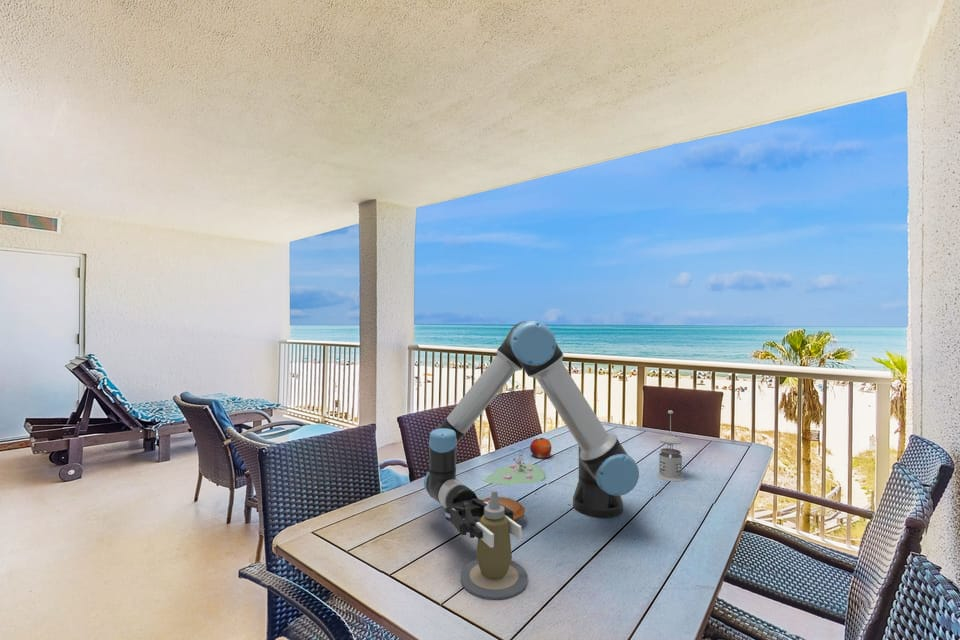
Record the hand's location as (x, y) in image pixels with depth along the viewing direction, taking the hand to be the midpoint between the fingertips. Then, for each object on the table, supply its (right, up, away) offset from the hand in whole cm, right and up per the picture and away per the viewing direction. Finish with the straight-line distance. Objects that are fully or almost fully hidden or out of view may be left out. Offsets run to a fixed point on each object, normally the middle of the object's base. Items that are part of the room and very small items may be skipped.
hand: (506, 536), depth 95 cm
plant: (+7, -13, +71) cm, 73 cm away
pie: (0, -12, +33) cm, 35 cm away
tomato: (+21, -12, +95) cm, 98 cm away
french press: (+66, -13, +72) cm, 98 cm away
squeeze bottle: (-3, -10, +4) cm, 11 cm away
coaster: (-3, -12, +4) cm, 13 cm away
